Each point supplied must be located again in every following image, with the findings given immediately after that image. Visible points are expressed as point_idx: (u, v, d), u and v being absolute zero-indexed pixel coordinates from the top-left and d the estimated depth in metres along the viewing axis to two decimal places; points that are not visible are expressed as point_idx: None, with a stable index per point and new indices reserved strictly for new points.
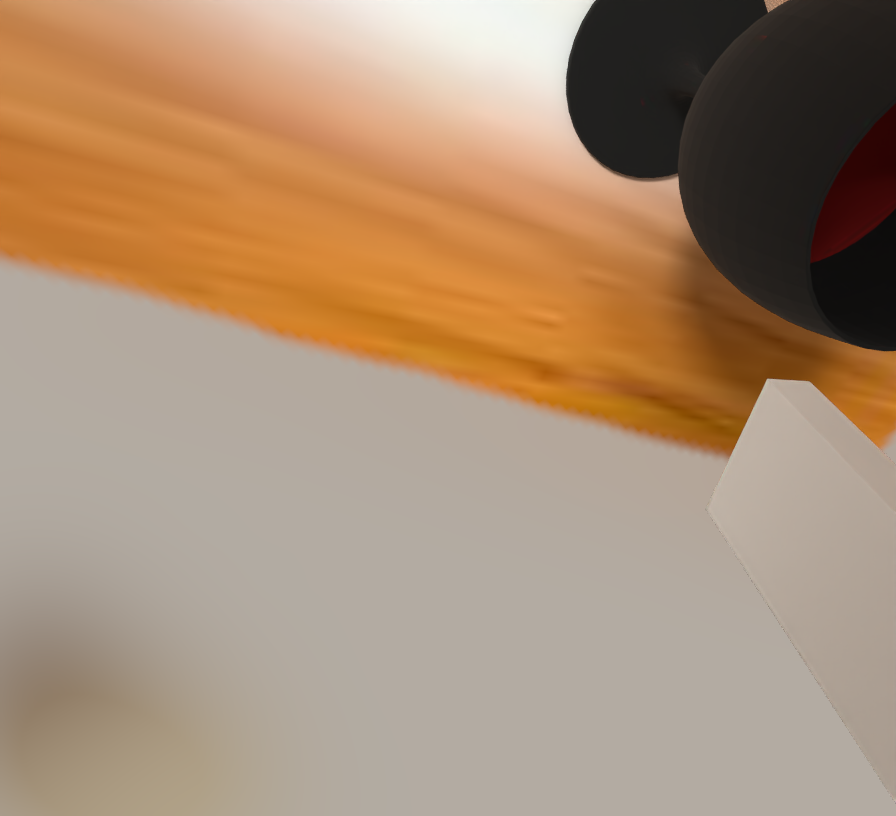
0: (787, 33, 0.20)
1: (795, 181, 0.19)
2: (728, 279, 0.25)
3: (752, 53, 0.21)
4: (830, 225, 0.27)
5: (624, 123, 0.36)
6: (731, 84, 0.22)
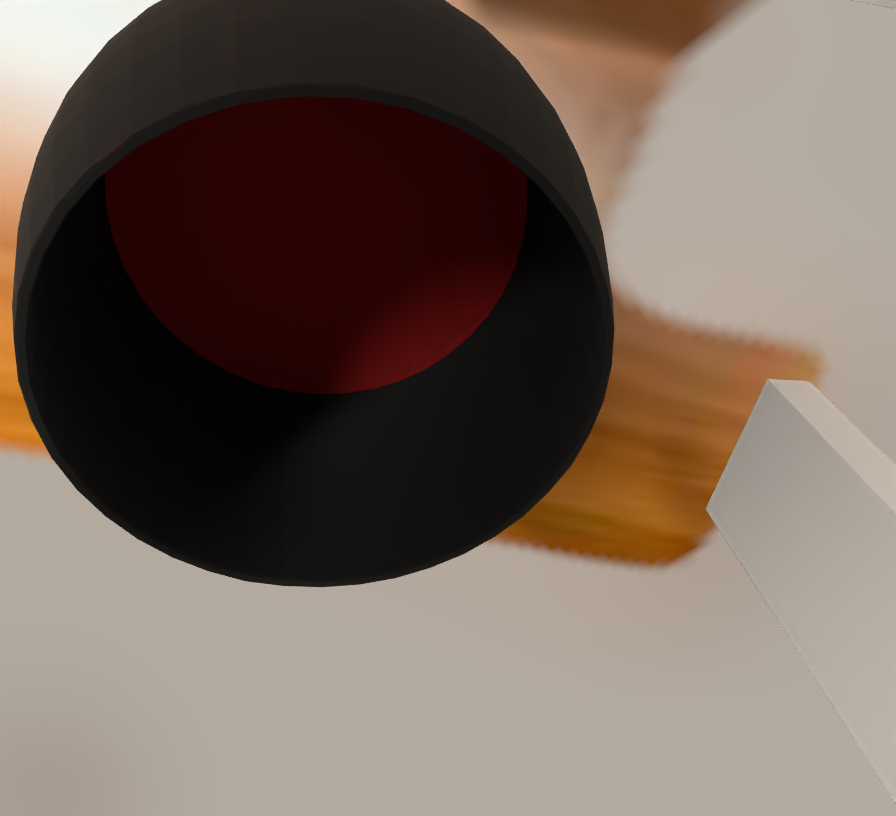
0: (89, 65, 0.12)
1: None
2: None
3: None
4: (395, 334, 0.18)
5: None
6: None
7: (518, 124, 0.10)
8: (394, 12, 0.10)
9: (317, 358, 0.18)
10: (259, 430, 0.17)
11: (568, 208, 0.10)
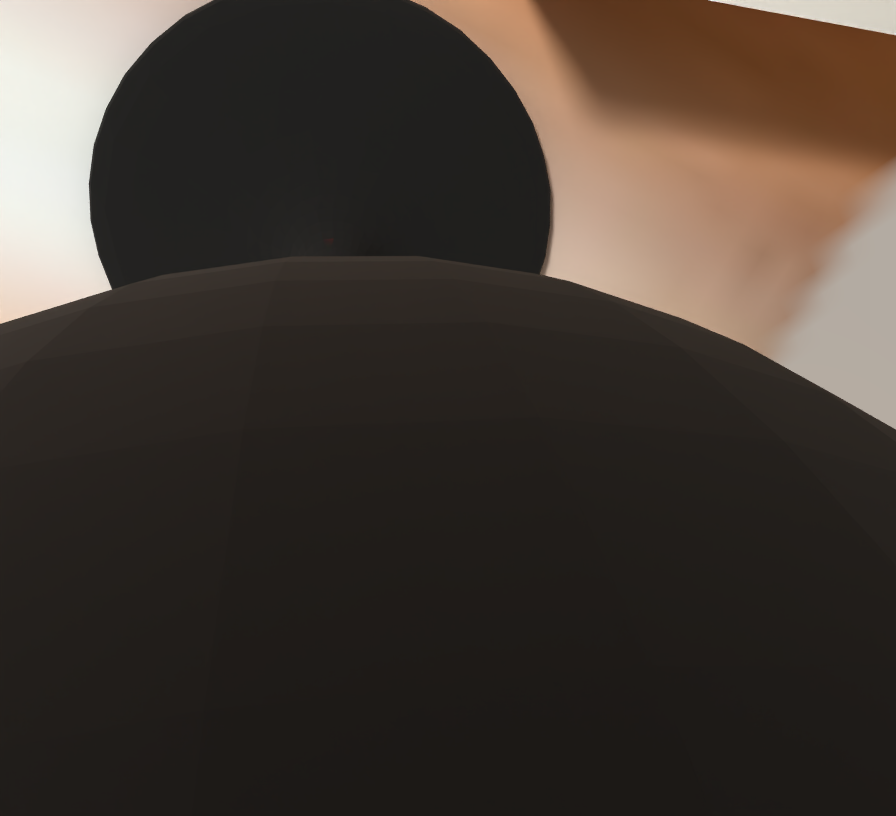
0: None
1: None
2: None
3: None
4: None
5: None
6: None
7: None
8: None
9: None
10: None
11: None
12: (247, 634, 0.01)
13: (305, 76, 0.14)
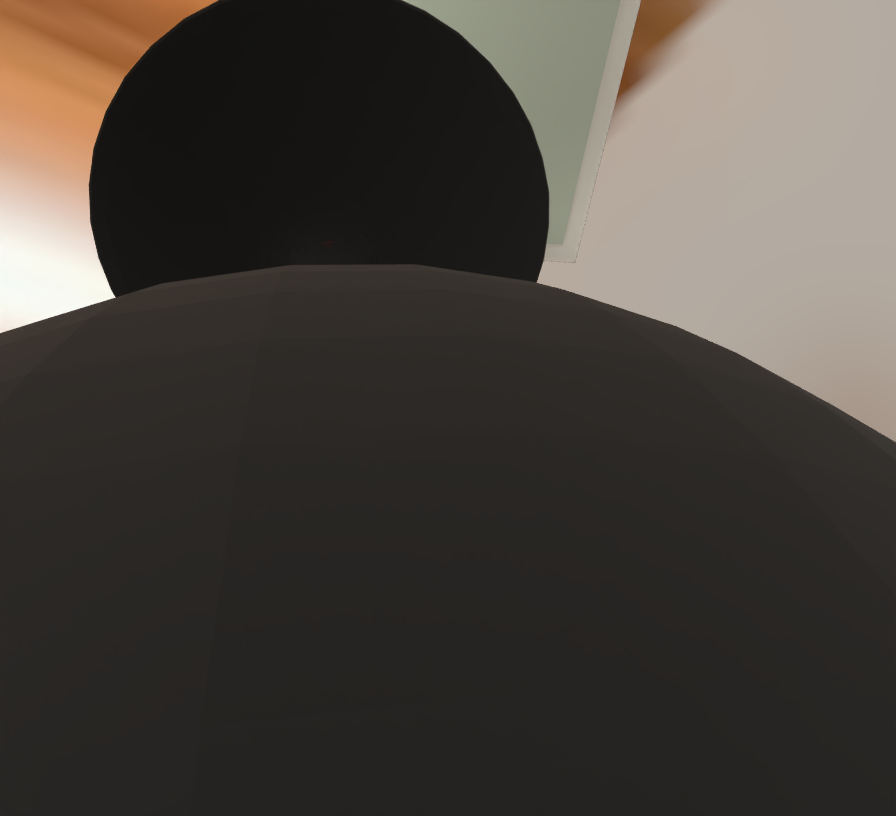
0: None
1: None
2: None
3: None
4: None
5: None
6: None
7: None
8: None
9: None
10: None
11: None
12: (242, 651, 0.01)
13: (304, 78, 0.14)
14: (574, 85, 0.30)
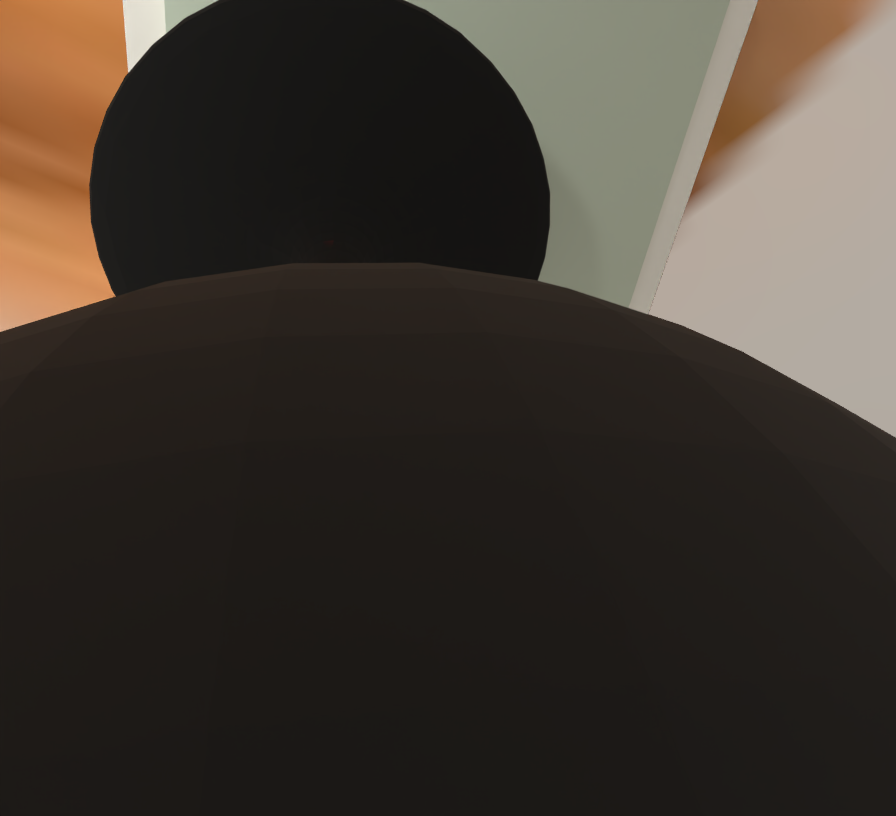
0: None
1: None
2: None
3: None
4: None
5: None
6: None
7: None
8: None
9: None
10: None
11: None
12: (251, 650, 0.01)
13: (305, 77, 0.14)
14: (623, 217, 0.22)
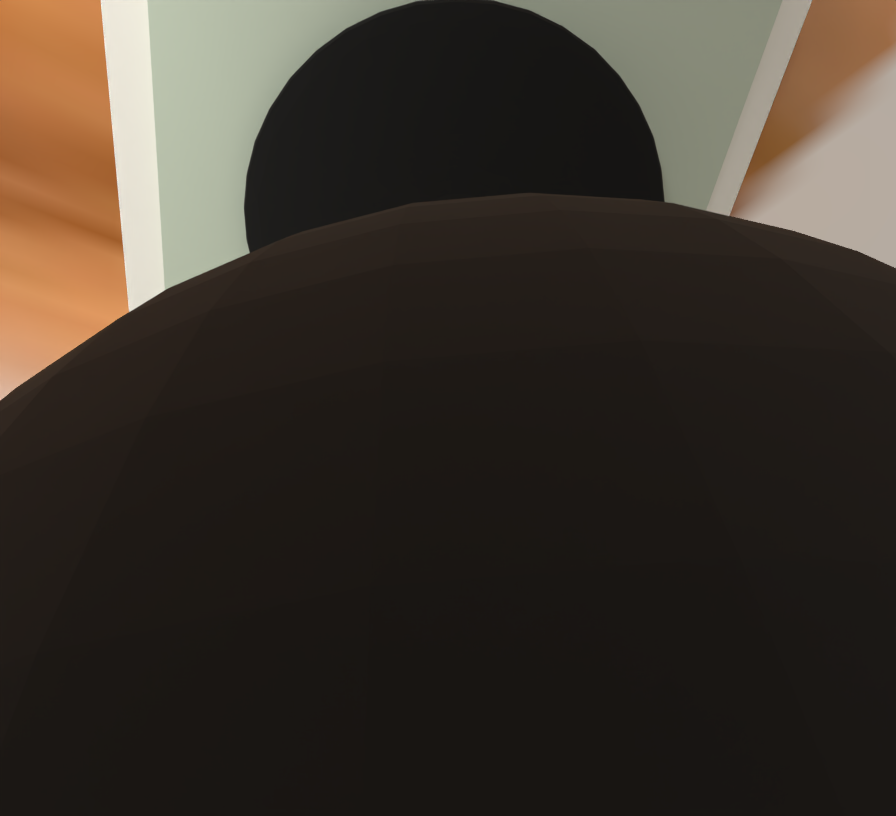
0: None
1: None
2: None
3: None
4: None
5: None
6: None
7: None
8: None
9: None
10: None
11: None
12: (646, 320, 0.02)
13: (448, 84, 0.16)
14: None
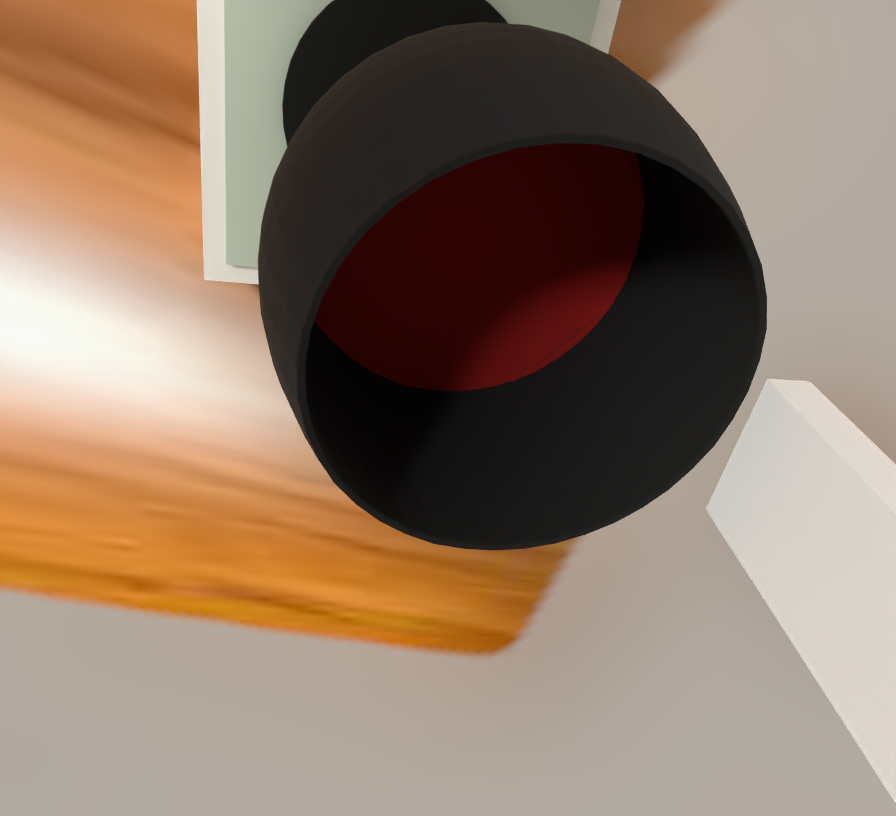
0: (320, 108, 0.14)
1: (282, 335, 0.13)
2: None
3: (296, 132, 0.15)
4: (516, 338, 0.21)
5: None
6: (274, 174, 0.15)
7: (706, 164, 0.12)
8: (600, 72, 0.12)
9: (447, 359, 0.21)
10: (401, 421, 0.20)
11: (746, 231, 0.12)
12: (499, 26, 0.14)
13: (406, 24, 0.27)
14: None
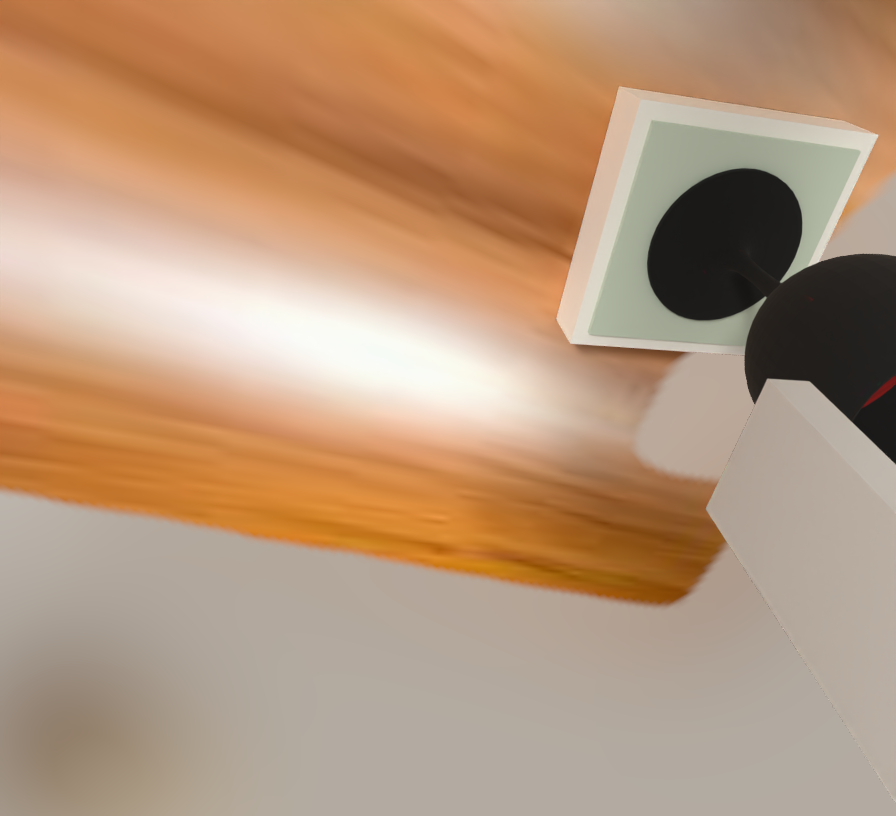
0: (827, 303, 0.32)
1: None
2: None
3: (803, 309, 0.33)
4: None
5: (689, 285, 0.47)
6: (788, 327, 0.33)
7: None
8: None
9: None
10: None
11: None
12: None
13: (738, 197, 0.44)
14: (796, 258, 0.48)
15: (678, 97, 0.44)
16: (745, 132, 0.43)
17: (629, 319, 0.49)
